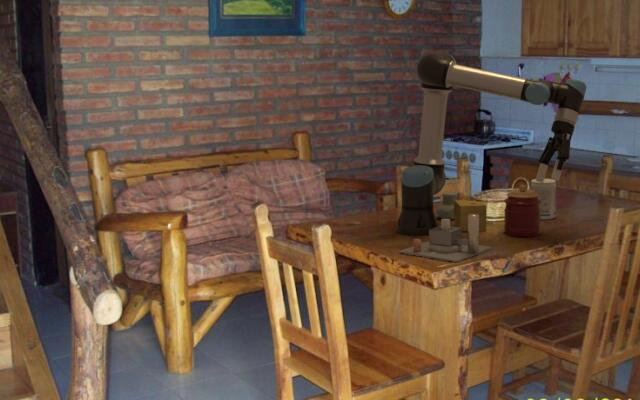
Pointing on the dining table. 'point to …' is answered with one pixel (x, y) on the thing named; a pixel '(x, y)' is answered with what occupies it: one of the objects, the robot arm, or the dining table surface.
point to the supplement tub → (546, 197)
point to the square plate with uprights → (442, 248)
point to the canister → (522, 212)
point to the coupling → (458, 235)
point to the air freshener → (447, 206)
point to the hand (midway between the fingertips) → (546, 180)
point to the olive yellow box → (466, 208)
